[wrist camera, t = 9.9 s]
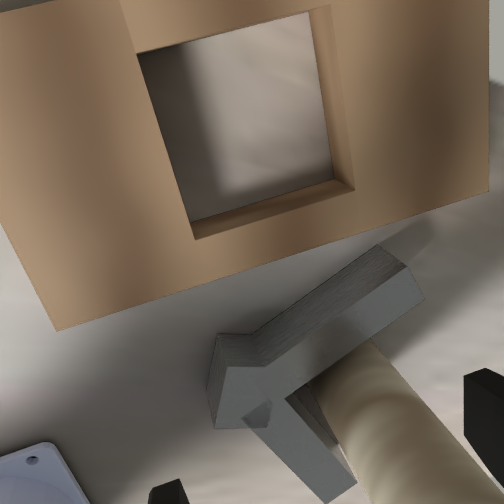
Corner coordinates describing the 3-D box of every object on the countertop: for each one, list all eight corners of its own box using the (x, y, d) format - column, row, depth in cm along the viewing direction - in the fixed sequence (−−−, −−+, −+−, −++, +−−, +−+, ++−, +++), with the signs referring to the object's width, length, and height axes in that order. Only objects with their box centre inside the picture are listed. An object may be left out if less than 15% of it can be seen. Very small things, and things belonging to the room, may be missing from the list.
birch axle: (311, 407, 23) (421, 619, 14) (297, 348, 22) (412, 546, 13) (380, 381, 24) (528, 570, 15) (371, 321, 22) (533, 494, 13)
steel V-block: (190, 471, 23) (196, 514, 21) (237, 228, 18) (252, 250, 16) (331, 464, 25) (350, 502, 23) (403, 247, 21) (435, 269, 19)
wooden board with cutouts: (64, 305, 18) (56, 331, 16) (-67, 39, 14) (-97, 35, 12) (457, 180, 20) (488, 191, 18) (449, -82, 16) (489, -101, 14)
